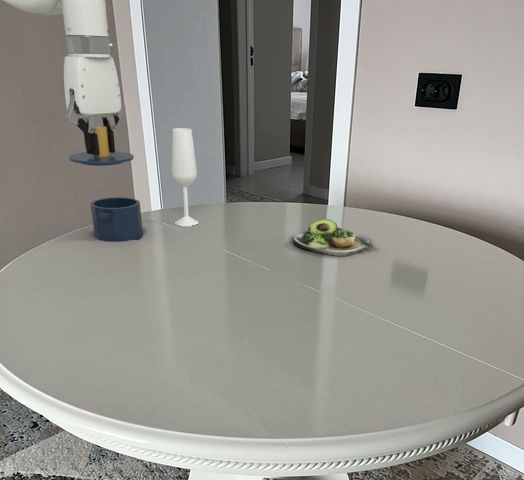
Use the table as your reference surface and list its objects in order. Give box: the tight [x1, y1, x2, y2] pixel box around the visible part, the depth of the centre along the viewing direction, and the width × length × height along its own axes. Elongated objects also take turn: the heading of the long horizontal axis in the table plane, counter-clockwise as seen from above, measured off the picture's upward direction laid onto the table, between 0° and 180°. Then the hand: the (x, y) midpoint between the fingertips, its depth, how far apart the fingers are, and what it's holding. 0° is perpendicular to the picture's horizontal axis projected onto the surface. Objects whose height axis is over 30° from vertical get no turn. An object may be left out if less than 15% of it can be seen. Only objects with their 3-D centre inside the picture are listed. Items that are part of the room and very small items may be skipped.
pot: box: [90, 196, 144, 243], centre depth 132 cm, size 12×17×8 cm
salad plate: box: [292, 218, 376, 257], centre depth 130 cm, size 19×18×5 cm
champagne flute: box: [171, 127, 199, 227], centre depth 140 cm, size 7×7×24 cm
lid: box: [68, 125, 135, 167], centre depth 106 cm, size 13×13×7 cm
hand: (101, 152), depth 107 cm, fingers closed on lid, 3 cm apart
